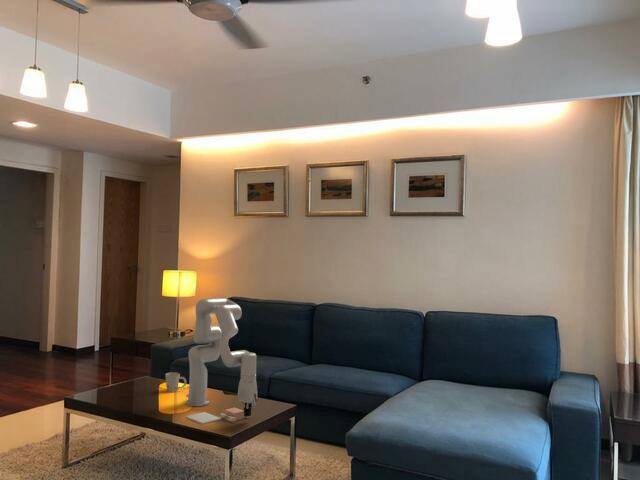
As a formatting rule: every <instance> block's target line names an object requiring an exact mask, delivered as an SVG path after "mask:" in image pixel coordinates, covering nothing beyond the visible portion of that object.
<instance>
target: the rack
mask: <svg viewBox="0 0 640 480" xmlns="http://www.w3.org/2000/svg"><path fill="white" fill-rule="evenodd" d="M218 417H219V418H221V420H222V419H223V420H225V421H228V422H231V423H232V424H233V423H236V418H235V417H232V416H229V415H226V414H225V412H224V413H223V412H221V413H219V416H218ZM250 418H251V416H248V417H246V416H244V419H247V420H248V419H250Z"/></svg>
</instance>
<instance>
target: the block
mask: <svg viewBox="0 0 640 480" xmlns="http://www.w3.org/2000/svg"><path fill="white" fill-rule="evenodd" d="M224 414H226V415H229V416H232V417H235V418H236V421H239V420H243V419H245V418H244V409H240V408H237V407H231V408H228V409H227V408H226V409H225V410H224Z"/></svg>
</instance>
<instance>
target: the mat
mask: <svg viewBox="0 0 640 480" xmlns="http://www.w3.org/2000/svg"><path fill="white" fill-rule="evenodd" d="M185 418H186V419H188V420H191V421H194V422H196V423H199V424H201V425H204V424H205V425H206V424H209V423H213V422H217V421H221V420H222V418H219V416H217V415H214V414H211V413H208V412H207V411H206V412H205V411H203V412H199V413H194V414H191V415H187V416H185Z"/></svg>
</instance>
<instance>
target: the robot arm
mask: <svg viewBox="0 0 640 480" xmlns="http://www.w3.org/2000/svg"><path fill="white" fill-rule="evenodd" d="M242 314H243V312H242V308H241V306H240V305H239V304H237V303H236V302H234V301H232V300H231V299H228V298H225V297H215V298H212V297H211V298H210V297H209V298H201V299H200V300H198V301H197V302H196V304H195V322H194V323H195V325H194V331H193V332H194V333H193V340H194V342H195V343H196V344H198V345H195V346H192V347H191V348H190V349H189V350H188V361H189V381H188V382H189V386H188V387H189V388H188V394H186V396H185V397H187V400H186V401H185V404H186V406H188V407H202V406H203V407H204V406H207V405H209V404H210V400H209V399H207V393H208V369H207V366H206V365H205V363H210V362H214V361H217V360H218V359H219V358H220V357H221V360H222V362H223V365H225V366H226V367H228V368H234V367H240V380H239V382H238V387H237V388H238V390H237V401H239V402H240V403H242V407H243V408H244V409H243V411H244V416H246V417H248V416H250V417H251V416H252V408H253V407H254V406H256V405H257V403H256V402H257V401H258V385H257V358H258V357H257V354H256V353H255V352H250V351H248V350H246V349H241V350H234V351H231V349H230V347H229V340H230V339H231V338H233V337H234V336H235V335H237V334H238V332H239V328H238V325H237V322H236V321H237V320H239V319H241V318H242ZM211 315H215V317H216V320H217V323H218V325H219V326H218V325H213V324H212V316H211Z"/></svg>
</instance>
